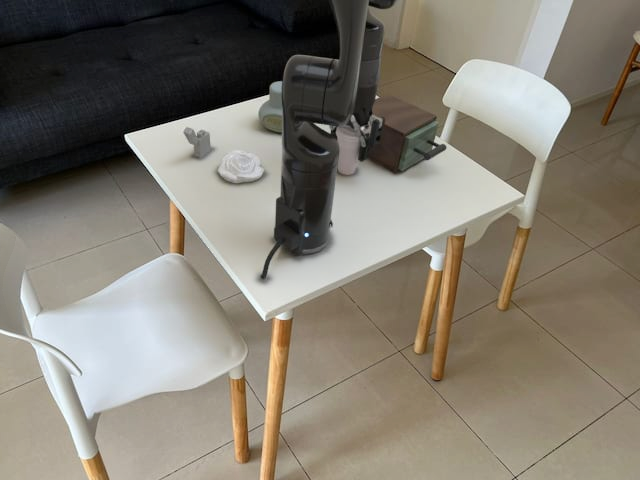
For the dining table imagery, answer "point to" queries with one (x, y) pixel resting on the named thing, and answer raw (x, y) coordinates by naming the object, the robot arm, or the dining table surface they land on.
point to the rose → (240, 167)
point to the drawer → (420, 146)
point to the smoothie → (348, 149)
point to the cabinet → (396, 128)
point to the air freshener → (272, 108)
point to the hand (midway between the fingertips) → (348, 152)
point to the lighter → (198, 141)
